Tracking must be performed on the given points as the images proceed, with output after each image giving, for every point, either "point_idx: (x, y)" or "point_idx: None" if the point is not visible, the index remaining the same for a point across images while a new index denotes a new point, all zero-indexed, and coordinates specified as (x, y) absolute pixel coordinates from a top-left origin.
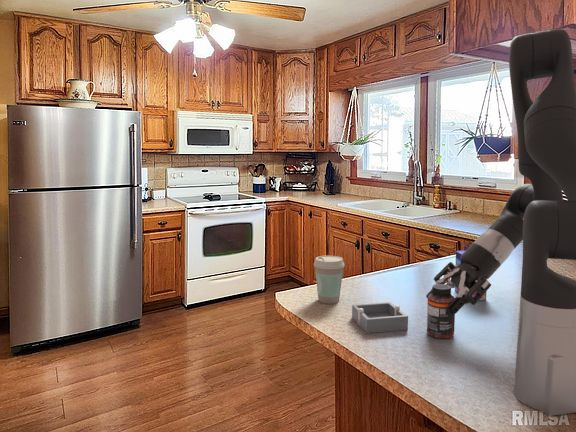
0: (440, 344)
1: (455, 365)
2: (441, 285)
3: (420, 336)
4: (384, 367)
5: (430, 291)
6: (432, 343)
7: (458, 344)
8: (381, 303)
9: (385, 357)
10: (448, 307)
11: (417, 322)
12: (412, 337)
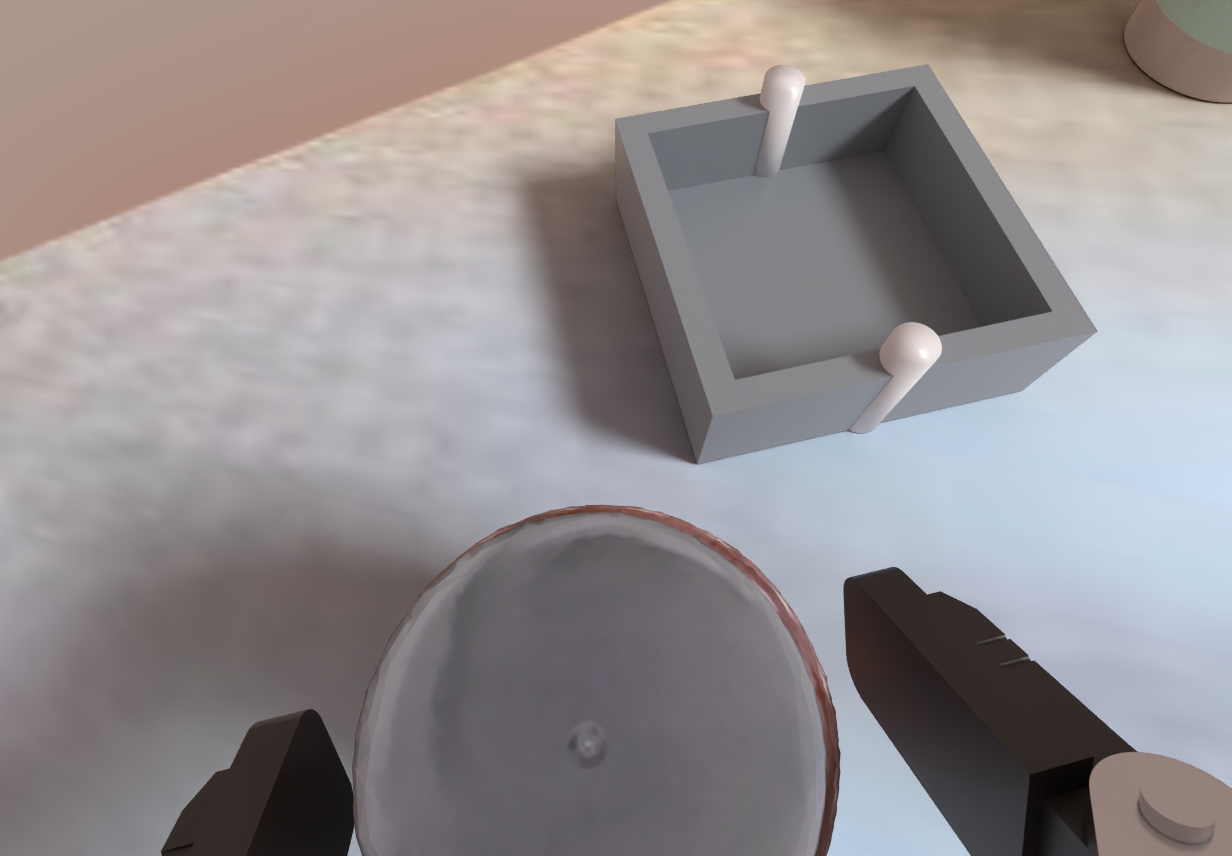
0: None
1: (24, 660)
2: (668, 757)
3: None
4: (141, 229)
5: (945, 626)
6: None
7: None
8: (1028, 256)
9: (259, 251)
10: (244, 744)
11: None
12: (548, 468)
